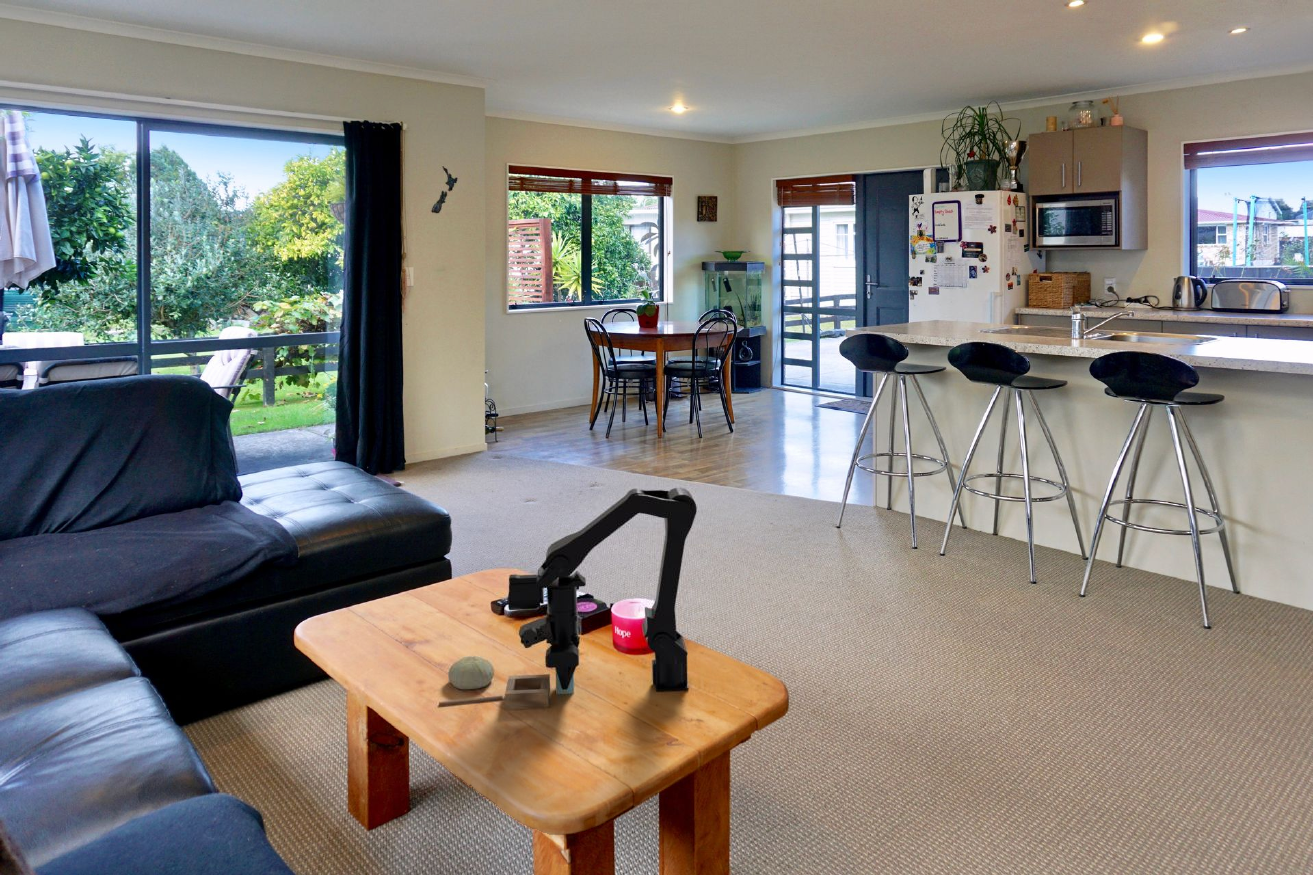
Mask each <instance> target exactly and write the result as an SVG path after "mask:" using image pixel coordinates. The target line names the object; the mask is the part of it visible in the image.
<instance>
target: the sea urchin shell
mask: <svg viewBox="0 0 1313 875" xmlns="http://www.w3.org/2000/svg"><path fill="white" fill-rule="evenodd" d="M447 675H448V681H449V682H450V683H451V685H452V686H453V687H455V688H457V689H458V690H459V689H460V690H477V689H480V688H484V687H486V686H488V684H490V683H492V680H493V678H494V677H495V669H494V665H493V664H492V662H490V661H489V660H488V659H485V658H483V657H481V656H480V657H479V656H476V655H474V656H473V655H469V656H465V657H462V658H460V659H459V660H457V661H455V662H454V663H452V665H451V666H450V667H449V669H448V672H447Z"/></svg>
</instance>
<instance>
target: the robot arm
mask: <svg viewBox="0 0 1313 875" xmlns="http://www.w3.org/2000/svg"><path fill="white" fill-rule="evenodd" d="M697 507H698V506H697V504H696V501H695V500H694V497H693V495H692V494H691V492H690V491H688V490H687V489H686V488H683V487H674V488H671V489H670V490H668V489H667V490H666V489H639V488H632V489H630V490H629V491H627V492H626V494H625V495H624V496H623V497H622V498H621V499H619V500H618V501H616V502H614V504H612V506H610V507H609V508H607V509H606V510H604V511H603V512H602V513H601V514H599V515H598V516H597V517H596V518H594V519H593V520H592V521H590V523H588V524H587V525H585V526H584V527H583V528H581V529H579V531H577V532H573V533H571V534H568V535H565V536H564V537H561V538H560V539H558V540H556V541H555V542H553V543H551V544H550V545H549V546H548V548H547V550H546V554H545V559H544V561H543V563H542V564H541V565H540V567H539V568H538V569H537V574H514V573H513V574H509V577H508V593H507V606H508V607H507V608H508V611H524V610H525V611H527V610H530V611H531V610H539V608H541V605H542V604H545V590H544V589H546V597H547V599H546V600H547V603H546V604H547V610H546V616H544V617H542V618H538V619H535V620H532V621H530V622H527V623H525V624H522V625H521V626H520V627H519V631H518V636H519V638H520V644H521V645H523V646H524V648H525V649H528V648H532V646H535V645H537V644H539V643H541V642H544V641H546V644H549V645H550V646H549V647H548V648H547V649H546V650H545V658H544V659H545V660H544V661H545V668H547V669H552V668H553V669H555V668H556V670H555V672H556V671H557V674H558V678H559V681H560V685H561V688H562V690H566V689H568V687H569V684H570V681H571V679H572V676H573V674H574V675H575V671H576V670H577V667H578V666H580V650H579V646H580V643H581V641H580V639H581V637H580V636H579V635H581V620H580V619H579V618H578V616H579V615H578V614H579V613H578V611H579V610H578V608H579V607H578V594H577V588H579V587H581V588H582V587H586V585H587V584H586V583H587V581H586V577H585V576H583V575H582V574H580V572H579V571H578V570H576V569H578V567H579V566H580V565H581V564H582V563H583V562H584V560H585V559H586V557H587V556H588V555H589V554H590V553H591V551H592V550H593V549H594V548H595V547H597V546H598V545H600V544H601V543H602V542H603V541H604V540H606V539H607V538H609V537H610V536H611V535H612V534H614V533H615V532H616V531H617V530H618V529H621V527H623V526H624V525H625V524H627V523H628V522H629V521H630V520H632V519H633V518H634V517H636V516H637V515H638V514H643V515H644V514H645V515H648V516H653V517H657V518H660V519H661V518H662V519H663V520H664V530H665V531H664V533H665V534H664V541H663V548H662V555H661V562H660V566H659V568H660V569H659V574H658V581H657V588H656V595H655V600H654V603H653V605H652V607H648V606H645V607H644V620H643V622H642V623H641V627H642V633H643V637H644V639H645V640H646V643H647V647H648V649H650V651H651V652H653V653H654V659H652V660H651V679H652V680H651V681H652V684H653V685H654V687H655V691H656V692H663V691H664V692H666V691H667V692H669V691H685V690H686V691H687V690H689V689H690V687H689V682H688V653H689V652H688V650H687V647H686V643H685V639H684V637H683V635H682V634H680V632H678V631H677V621H676V601H677V595H678V589H679V583H680V575H681V570H682V562H683V557H684V550H685V543H686V539H687V538H688V535H689V533H690V531H691V529H692V526H693V524H694V522H695V518H696V515H697V512H698V511H697V510H698V508H697ZM575 570H576V571H575ZM574 572H575V573H574Z"/></svg>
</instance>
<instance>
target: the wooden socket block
mask: <svg viewBox="0 0 1313 875" xmlns="http://www.w3.org/2000/svg"><path fill="white" fill-rule="evenodd" d="M506 683H507V684H506V687H505V691H504V705H505V710H506V711H510V710H512V711H515V710H535V709H537V710H538V709H549V704H550V695H551V675H550V673H547V674H544V673H543V674H522V675H508V679H507V682H506Z"/></svg>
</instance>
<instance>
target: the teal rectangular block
mask: <svg viewBox="0 0 1313 875" xmlns="http://www.w3.org/2000/svg"><path fill="white" fill-rule="evenodd" d="M554 669H555V690H556V692H555V693H556V695H566V694H571V695H573V694H575V673H574V674H573V676H572V679H571V681H570V684H569V687H568V689H566V690H562V688H561V685H560V681H559V678H558V674H557V671H556V668H554Z"/></svg>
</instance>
